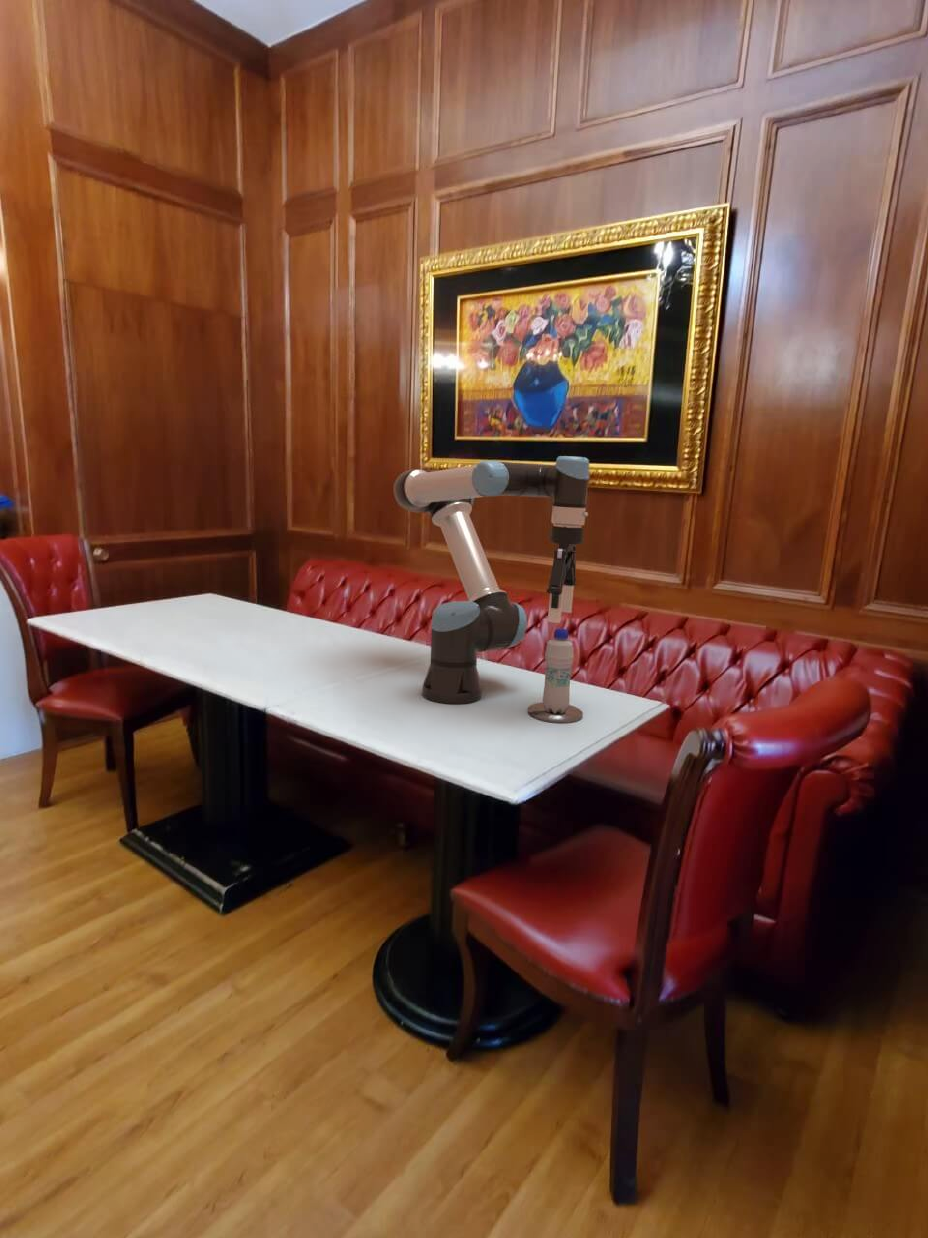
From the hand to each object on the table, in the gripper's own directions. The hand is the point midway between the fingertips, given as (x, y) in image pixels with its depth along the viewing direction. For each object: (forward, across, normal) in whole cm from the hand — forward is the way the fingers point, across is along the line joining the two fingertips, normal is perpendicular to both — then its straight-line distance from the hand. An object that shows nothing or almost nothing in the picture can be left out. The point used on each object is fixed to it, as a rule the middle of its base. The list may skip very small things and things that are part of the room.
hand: (560, 617), depth 164 cm
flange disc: (+23, -2, -1) cm, 23 cm away
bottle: (+23, -2, -1) cm, 23 cm away
